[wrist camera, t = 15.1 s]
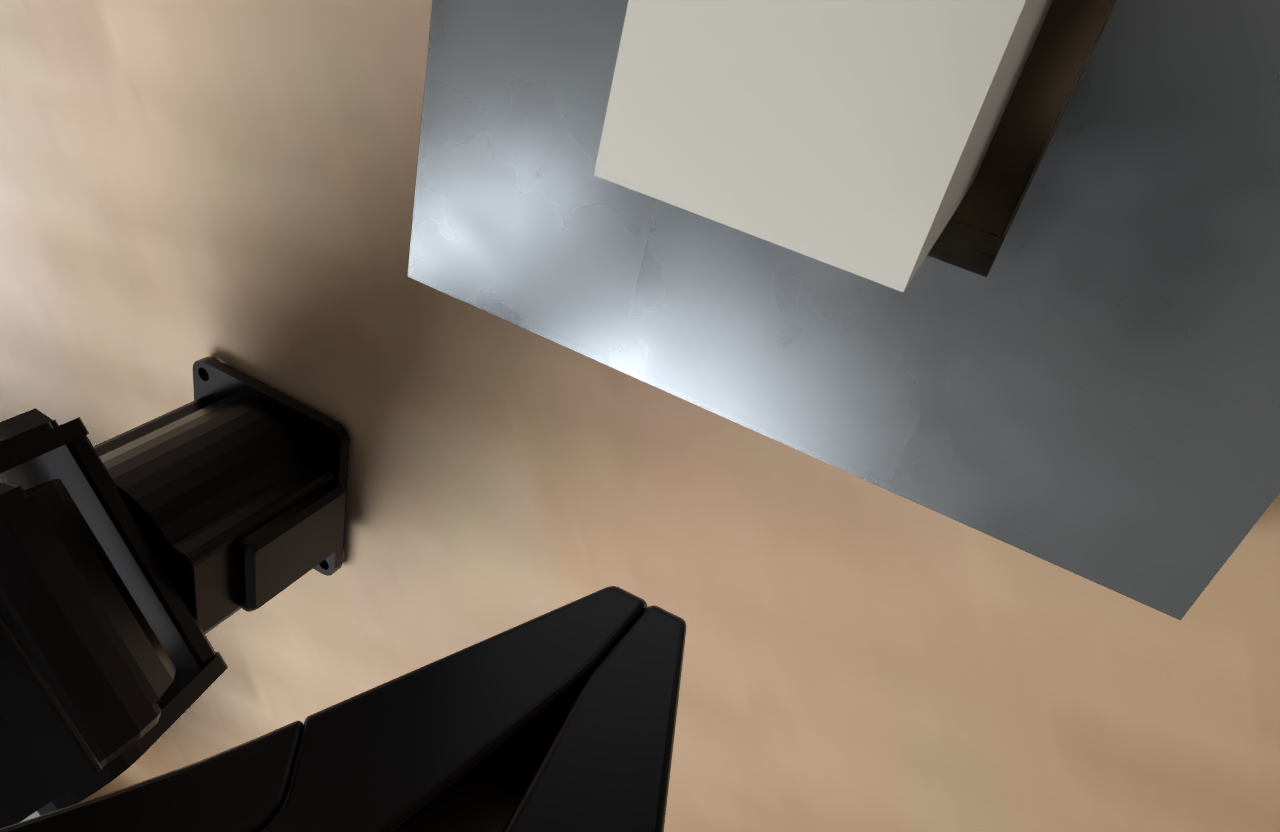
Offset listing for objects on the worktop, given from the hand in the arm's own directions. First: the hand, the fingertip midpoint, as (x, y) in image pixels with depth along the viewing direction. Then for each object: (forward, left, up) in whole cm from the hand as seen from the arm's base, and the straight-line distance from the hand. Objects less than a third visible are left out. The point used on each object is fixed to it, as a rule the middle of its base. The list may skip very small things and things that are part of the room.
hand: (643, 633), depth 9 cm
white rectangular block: (-1, +5, -13) cm, 14 cm away
